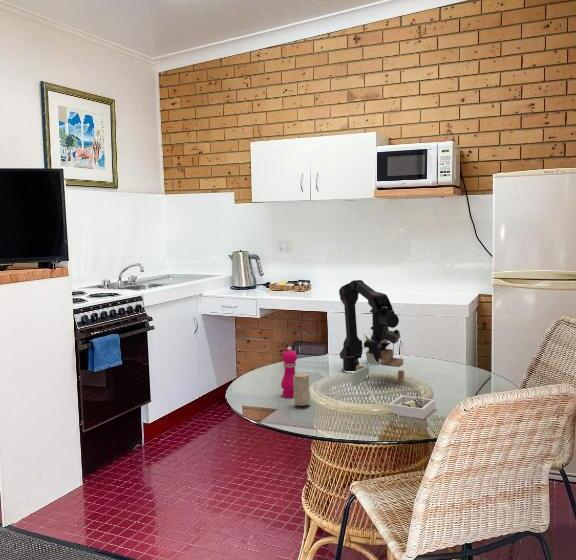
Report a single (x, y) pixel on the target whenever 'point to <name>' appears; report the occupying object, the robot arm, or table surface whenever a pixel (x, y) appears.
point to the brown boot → (390, 359)
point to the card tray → (412, 411)
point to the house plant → (370, 354)
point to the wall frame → (400, 373)
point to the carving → (301, 389)
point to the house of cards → (419, 401)
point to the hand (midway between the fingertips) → (379, 360)
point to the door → (359, 375)
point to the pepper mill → (288, 372)
